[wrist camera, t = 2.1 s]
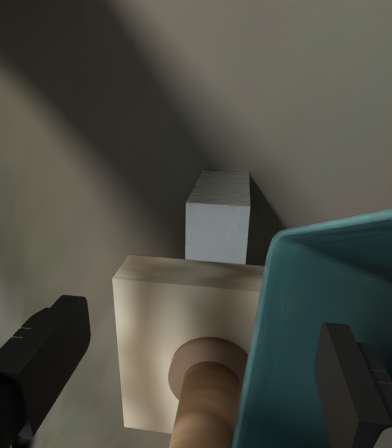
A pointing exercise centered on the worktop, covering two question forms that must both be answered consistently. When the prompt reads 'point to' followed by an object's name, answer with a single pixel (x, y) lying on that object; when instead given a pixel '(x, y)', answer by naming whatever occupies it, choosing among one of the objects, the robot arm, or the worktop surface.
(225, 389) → the bobbin
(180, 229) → the worktop surface
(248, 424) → the flower pot
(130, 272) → the notched board
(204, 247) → the tab peg
